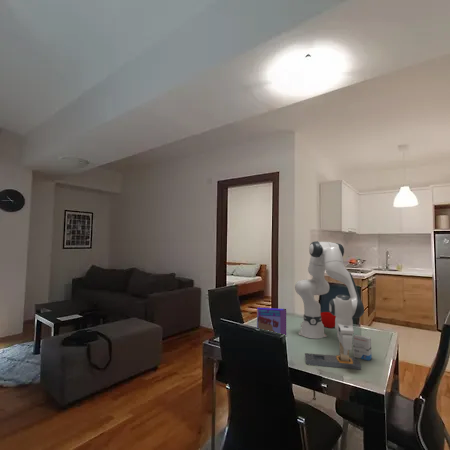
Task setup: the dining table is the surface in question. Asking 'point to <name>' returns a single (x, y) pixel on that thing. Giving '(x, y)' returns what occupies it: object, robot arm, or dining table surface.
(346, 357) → the peg
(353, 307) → the robot arm
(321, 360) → the rail
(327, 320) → the ceramic cup
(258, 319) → the cereal box
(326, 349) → the dining table surface
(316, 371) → the dining table surface
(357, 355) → the ink box
